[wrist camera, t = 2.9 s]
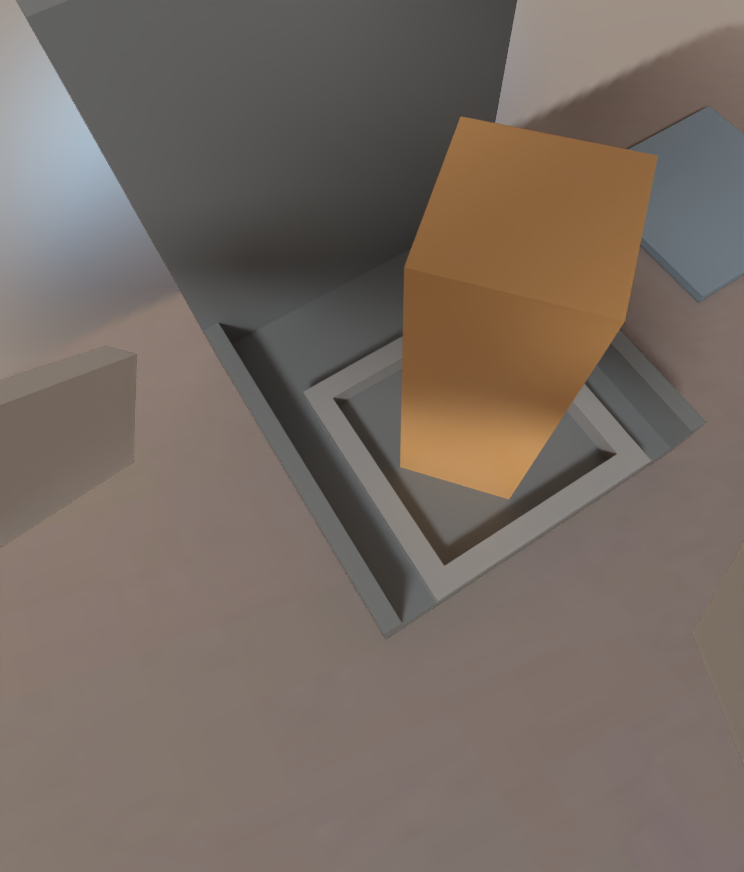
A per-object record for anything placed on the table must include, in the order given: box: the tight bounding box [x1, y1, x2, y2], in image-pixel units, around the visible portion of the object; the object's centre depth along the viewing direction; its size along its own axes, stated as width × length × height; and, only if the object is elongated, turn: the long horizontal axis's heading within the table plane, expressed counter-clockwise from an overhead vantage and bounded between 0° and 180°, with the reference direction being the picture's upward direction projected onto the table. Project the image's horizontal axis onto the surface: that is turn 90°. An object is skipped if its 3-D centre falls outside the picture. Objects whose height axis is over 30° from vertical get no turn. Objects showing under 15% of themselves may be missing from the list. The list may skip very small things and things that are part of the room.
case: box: [16, 0, 706, 640], centre depth 21 cm, size 18×16×18 cm
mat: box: [628, 106, 744, 302], centre depth 33 cm, size 10×10×1 cm
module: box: [400, 116, 658, 499], centre depth 20 cm, size 5×5×14 cm
